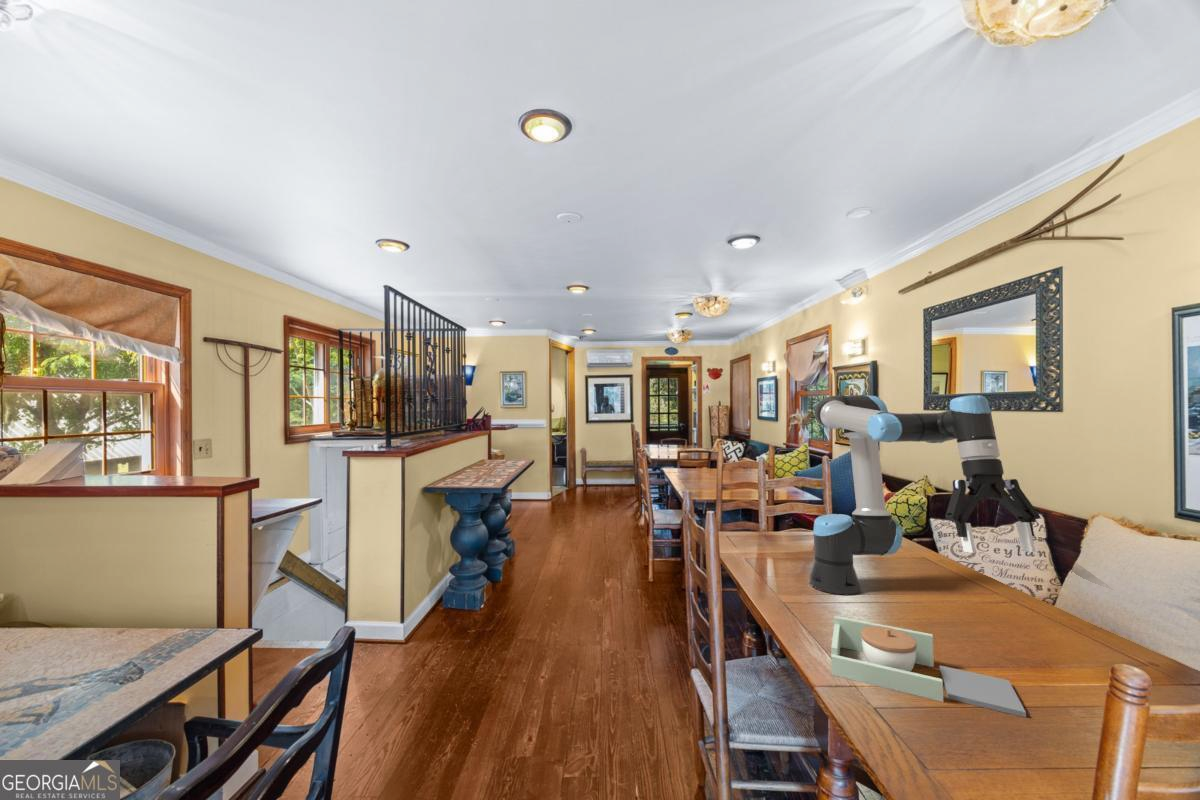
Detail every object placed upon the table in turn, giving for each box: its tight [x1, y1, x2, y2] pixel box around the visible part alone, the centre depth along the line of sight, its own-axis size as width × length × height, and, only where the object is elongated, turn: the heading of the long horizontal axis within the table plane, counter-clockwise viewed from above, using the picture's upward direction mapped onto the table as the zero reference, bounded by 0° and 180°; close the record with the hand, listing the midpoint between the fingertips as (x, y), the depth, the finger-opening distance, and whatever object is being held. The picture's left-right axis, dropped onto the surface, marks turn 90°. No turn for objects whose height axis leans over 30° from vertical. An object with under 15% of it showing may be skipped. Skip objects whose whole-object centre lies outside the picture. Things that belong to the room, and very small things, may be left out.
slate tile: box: [938, 665, 1027, 718], centre depth 96 cm, size 12×12×1 cm
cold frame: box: [830, 615, 944, 703], centre depth 104 cm, size 16×20×7 cm
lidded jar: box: [861, 626, 917, 672], centre depth 104 cm, size 11×11×9 cm
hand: (999, 552), depth 105 cm, fingers open, 13 cm apart
